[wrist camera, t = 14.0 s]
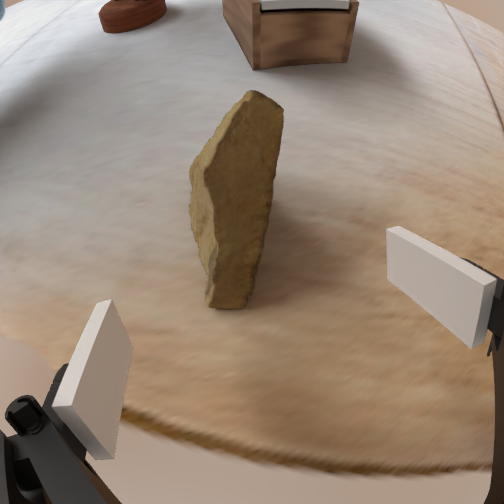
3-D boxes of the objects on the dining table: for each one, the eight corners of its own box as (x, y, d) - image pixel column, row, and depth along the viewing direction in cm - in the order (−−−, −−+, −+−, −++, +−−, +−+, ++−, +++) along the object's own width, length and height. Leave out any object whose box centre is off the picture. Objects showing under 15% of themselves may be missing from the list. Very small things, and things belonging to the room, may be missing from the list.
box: (252, 70, 30) (252, -3, 22) (223, 16, 36) (219, -37, 28) (346, 62, 31) (360, -3, 23) (297, 9, 37) (300, -40, 29)
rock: (282, 339, 17) (346, 185, 19) (153, 272, 11) (266, 80, 14) (177, 293, 25) (233, 186, 27) (84, 241, 19) (159, 120, 21)
